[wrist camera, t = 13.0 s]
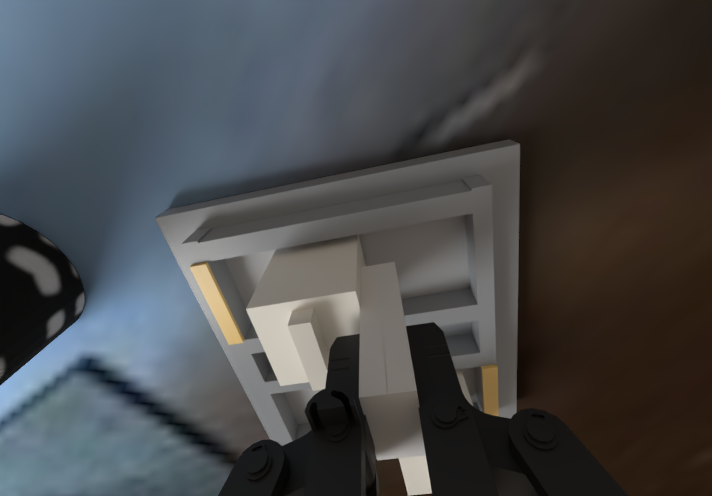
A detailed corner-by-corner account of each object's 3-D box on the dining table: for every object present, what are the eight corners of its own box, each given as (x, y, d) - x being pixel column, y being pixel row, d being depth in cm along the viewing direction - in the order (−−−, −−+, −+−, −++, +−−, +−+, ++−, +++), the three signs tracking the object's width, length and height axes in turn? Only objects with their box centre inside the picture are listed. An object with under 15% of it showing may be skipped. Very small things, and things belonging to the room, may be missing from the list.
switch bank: (277, 429, 25) (267, 470, 22) (167, 209, 17) (132, 232, 14) (509, 402, 23) (527, 442, 20) (509, 139, 15) (538, 152, 12)
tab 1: (300, 309, 18) (275, 403, 13) (277, 245, 16) (237, 323, 11) (373, 298, 18) (377, 389, 12) (357, 231, 16) (355, 305, 11)
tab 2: (398, 409, 22) (410, 513, 16) (388, 365, 20) (398, 467, 15) (461, 401, 21) (492, 506, 16) (456, 356, 19) (490, 457, 14)
